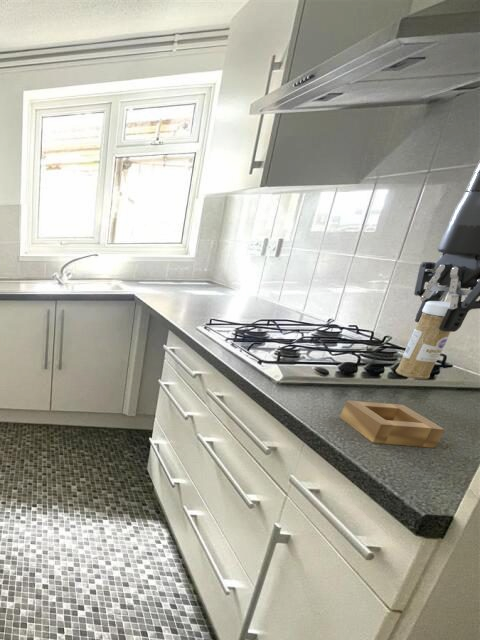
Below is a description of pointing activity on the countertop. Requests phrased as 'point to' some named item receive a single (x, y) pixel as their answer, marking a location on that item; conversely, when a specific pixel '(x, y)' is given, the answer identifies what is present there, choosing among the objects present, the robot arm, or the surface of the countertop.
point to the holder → (391, 424)
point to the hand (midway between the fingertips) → (434, 326)
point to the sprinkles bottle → (425, 342)
